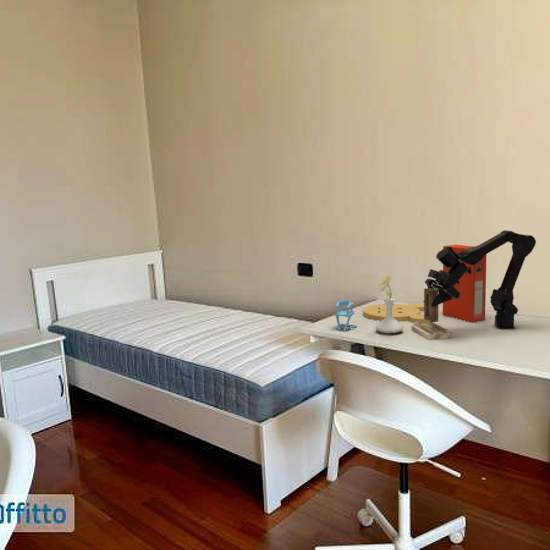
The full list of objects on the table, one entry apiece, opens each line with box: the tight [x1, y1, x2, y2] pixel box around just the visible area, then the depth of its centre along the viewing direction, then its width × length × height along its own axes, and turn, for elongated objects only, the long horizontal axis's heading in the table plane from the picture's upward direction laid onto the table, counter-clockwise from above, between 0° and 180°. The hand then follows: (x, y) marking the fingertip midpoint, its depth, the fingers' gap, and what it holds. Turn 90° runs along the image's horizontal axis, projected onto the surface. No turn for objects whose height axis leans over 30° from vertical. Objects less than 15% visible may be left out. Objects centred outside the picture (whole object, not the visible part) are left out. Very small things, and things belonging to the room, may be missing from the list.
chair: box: [334, 299, 357, 332], centre depth 224 cm, size 8×8×12 cm
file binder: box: [442, 244, 488, 324], centre depth 233 cm, size 8×17×32 cm, turn 27°
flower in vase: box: [375, 273, 404, 334], centre depth 215 cm, size 13×11×25 cm
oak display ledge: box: [411, 321, 451, 341], centre depth 212 cm, size 9×15×3 cm, turn 11°
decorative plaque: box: [362, 302, 428, 325], centre depth 246 cm, size 31×3×30 cm
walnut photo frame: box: [423, 287, 439, 323], centre depth 210 cm, size 3×6×12 cm, turn 12°
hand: (428, 304), depth 210 cm, fingers closed on walnut photo frame, 6 cm apart
